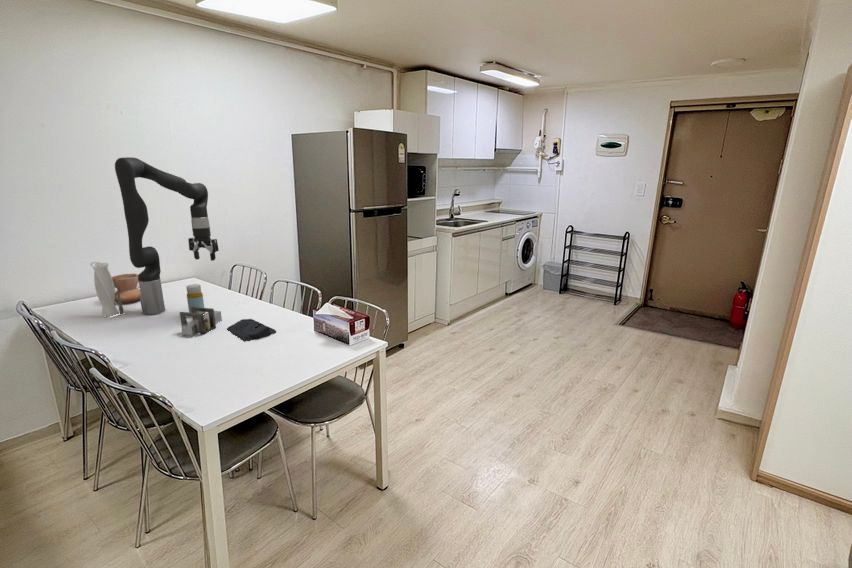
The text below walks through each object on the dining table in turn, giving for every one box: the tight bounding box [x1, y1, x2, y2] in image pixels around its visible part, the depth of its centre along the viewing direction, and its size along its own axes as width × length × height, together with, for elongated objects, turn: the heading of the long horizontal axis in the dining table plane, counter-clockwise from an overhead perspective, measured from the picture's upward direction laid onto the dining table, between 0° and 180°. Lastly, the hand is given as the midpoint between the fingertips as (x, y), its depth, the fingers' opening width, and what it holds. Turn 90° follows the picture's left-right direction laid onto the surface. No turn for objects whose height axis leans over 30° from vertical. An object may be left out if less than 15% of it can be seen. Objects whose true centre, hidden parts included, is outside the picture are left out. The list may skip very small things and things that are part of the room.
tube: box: [180, 310, 223, 338], centre depth 202 cm, size 20×5×5 cm, turn 168°
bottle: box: [186, 283, 206, 314], centre depth 217 cm, size 7×7×15 cm
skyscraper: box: [89, 261, 125, 318], centre depth 213 cm, size 8×8×28 cm
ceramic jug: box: [111, 272, 141, 304], centre depth 235 cm, size 18×14×14 cm
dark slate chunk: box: [226, 318, 277, 342], centre depth 199 cm, size 15×22×5 cm
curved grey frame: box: [179, 307, 217, 335], centre depth 199 cm, size 11×8×10 cm
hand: (205, 259), depth 212 cm, fingers open, 8 cm apart
